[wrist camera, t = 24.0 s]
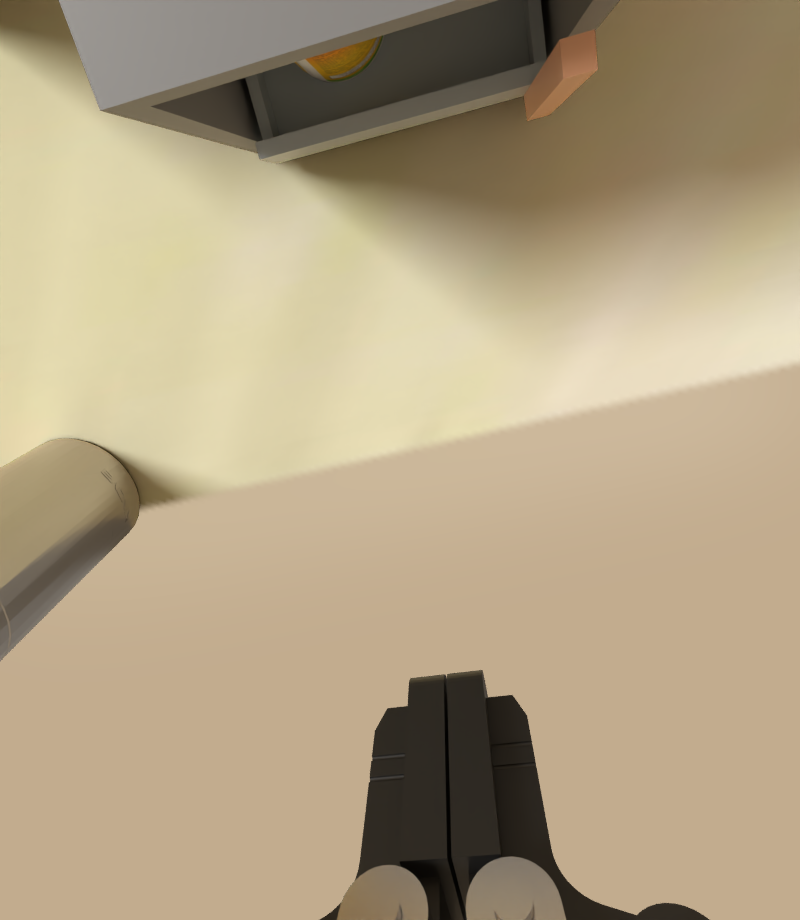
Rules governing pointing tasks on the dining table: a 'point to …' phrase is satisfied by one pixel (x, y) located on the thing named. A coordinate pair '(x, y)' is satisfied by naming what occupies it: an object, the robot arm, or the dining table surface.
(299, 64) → the supplement bottle
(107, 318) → the dining table surface
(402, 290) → the dining table surface
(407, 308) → the dining table surface
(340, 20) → the cabinet
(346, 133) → the drawer
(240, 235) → the dining table surface
